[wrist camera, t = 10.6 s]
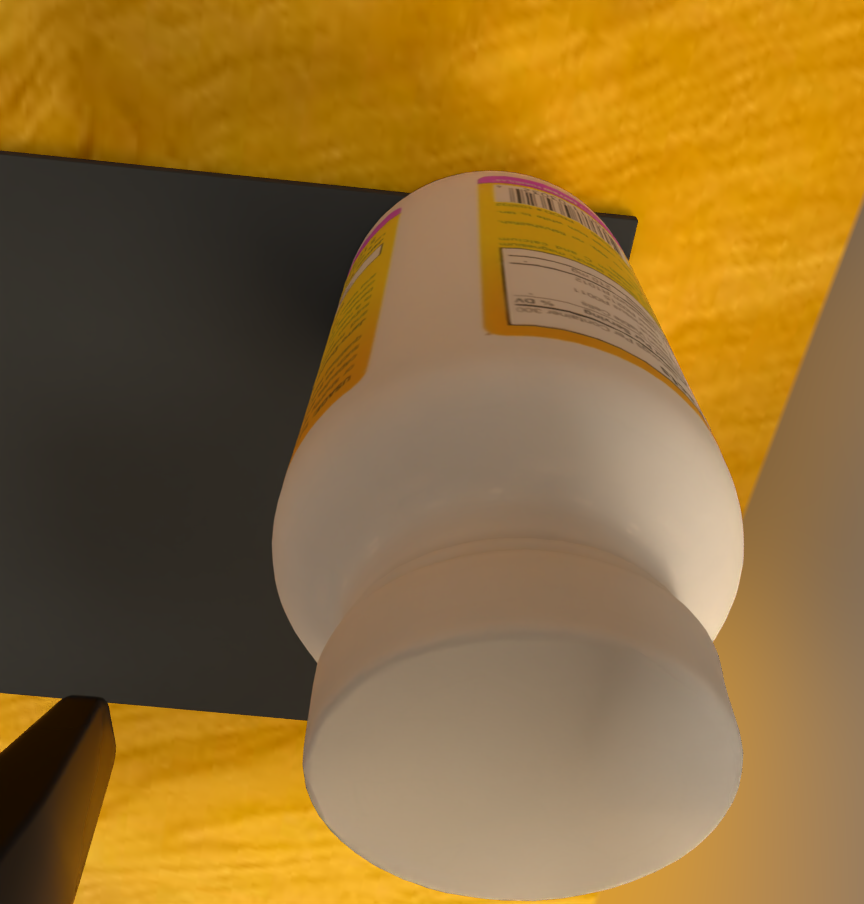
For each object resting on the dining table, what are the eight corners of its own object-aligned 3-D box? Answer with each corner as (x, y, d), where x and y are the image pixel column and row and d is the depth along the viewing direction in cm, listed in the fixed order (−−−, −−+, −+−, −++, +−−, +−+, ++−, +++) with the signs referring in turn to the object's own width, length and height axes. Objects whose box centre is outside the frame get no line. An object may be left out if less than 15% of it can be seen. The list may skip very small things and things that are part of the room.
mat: (636, 216, 18) (638, 220, 18) (517, 732, 28) (517, 740, 28) (-174, 132, 18) (-183, 135, 18) (-9, 684, 28) (-14, 691, 28)
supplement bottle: (396, 450, 22) (327, 972, 11) (305, 210, 18) (78, 627, 8) (651, 391, 21) (852, 915, 10) (604, 122, 17) (835, 473, 6)
